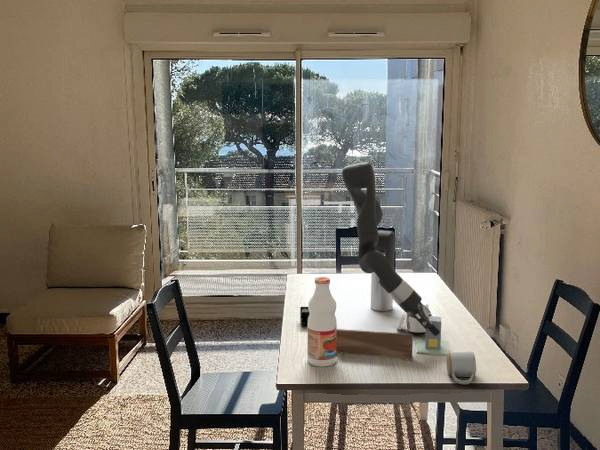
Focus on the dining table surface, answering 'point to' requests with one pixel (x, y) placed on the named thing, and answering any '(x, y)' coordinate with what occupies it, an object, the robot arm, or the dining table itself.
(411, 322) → the spread jar
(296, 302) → the dining table surface
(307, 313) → the end cap
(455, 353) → the ceramic mug
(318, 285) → the fruit juice
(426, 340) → the slate block
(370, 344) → the walnut screen
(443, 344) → the sage mat
